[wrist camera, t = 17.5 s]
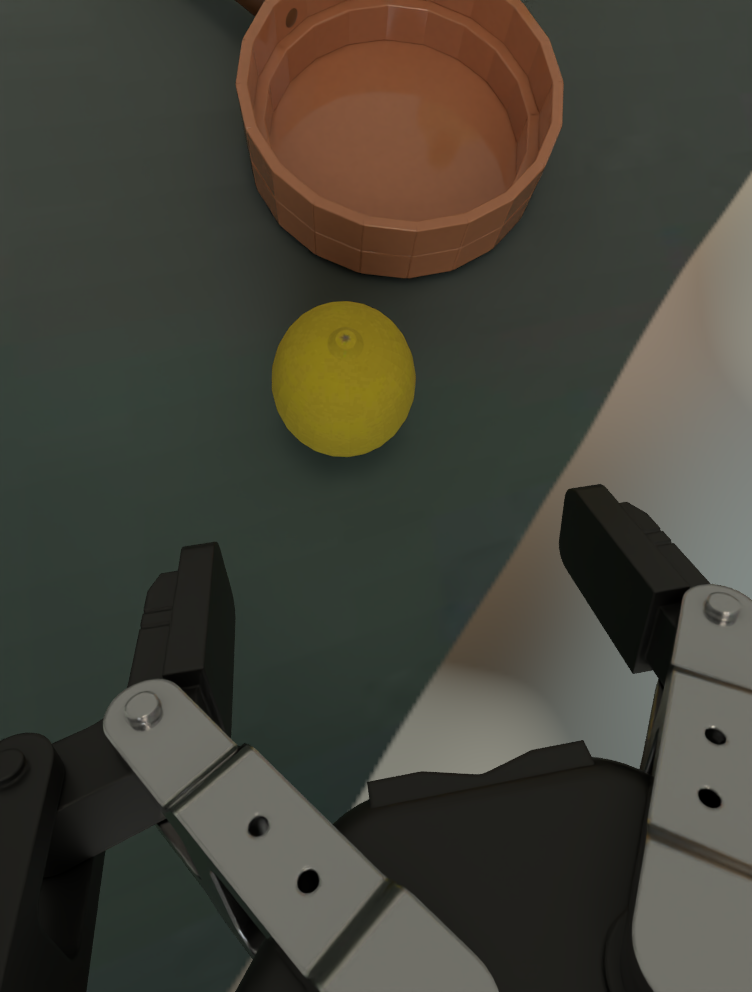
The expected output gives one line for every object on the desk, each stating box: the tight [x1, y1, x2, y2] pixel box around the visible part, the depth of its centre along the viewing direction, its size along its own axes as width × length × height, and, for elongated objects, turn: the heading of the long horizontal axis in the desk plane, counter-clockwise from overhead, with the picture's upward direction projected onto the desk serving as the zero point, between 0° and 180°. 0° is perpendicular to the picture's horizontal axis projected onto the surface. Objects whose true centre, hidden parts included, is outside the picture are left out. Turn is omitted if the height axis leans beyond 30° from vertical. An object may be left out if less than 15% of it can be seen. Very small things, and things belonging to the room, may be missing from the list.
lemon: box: [272, 301, 416, 457], centre depth 24 cm, size 6×6×8 cm
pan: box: [236, 0, 563, 278], centre depth 29 cm, size 14×14×4 cm
